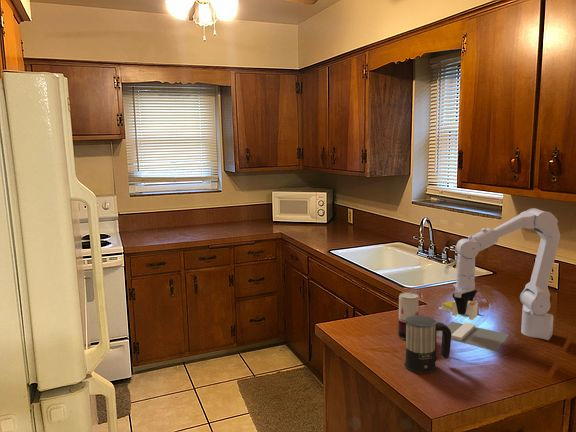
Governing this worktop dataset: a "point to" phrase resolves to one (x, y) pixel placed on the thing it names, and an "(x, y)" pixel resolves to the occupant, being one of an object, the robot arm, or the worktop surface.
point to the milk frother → (424, 343)
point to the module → (467, 309)
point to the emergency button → (448, 308)
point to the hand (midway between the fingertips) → (464, 312)
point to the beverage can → (406, 310)
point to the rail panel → (475, 335)
